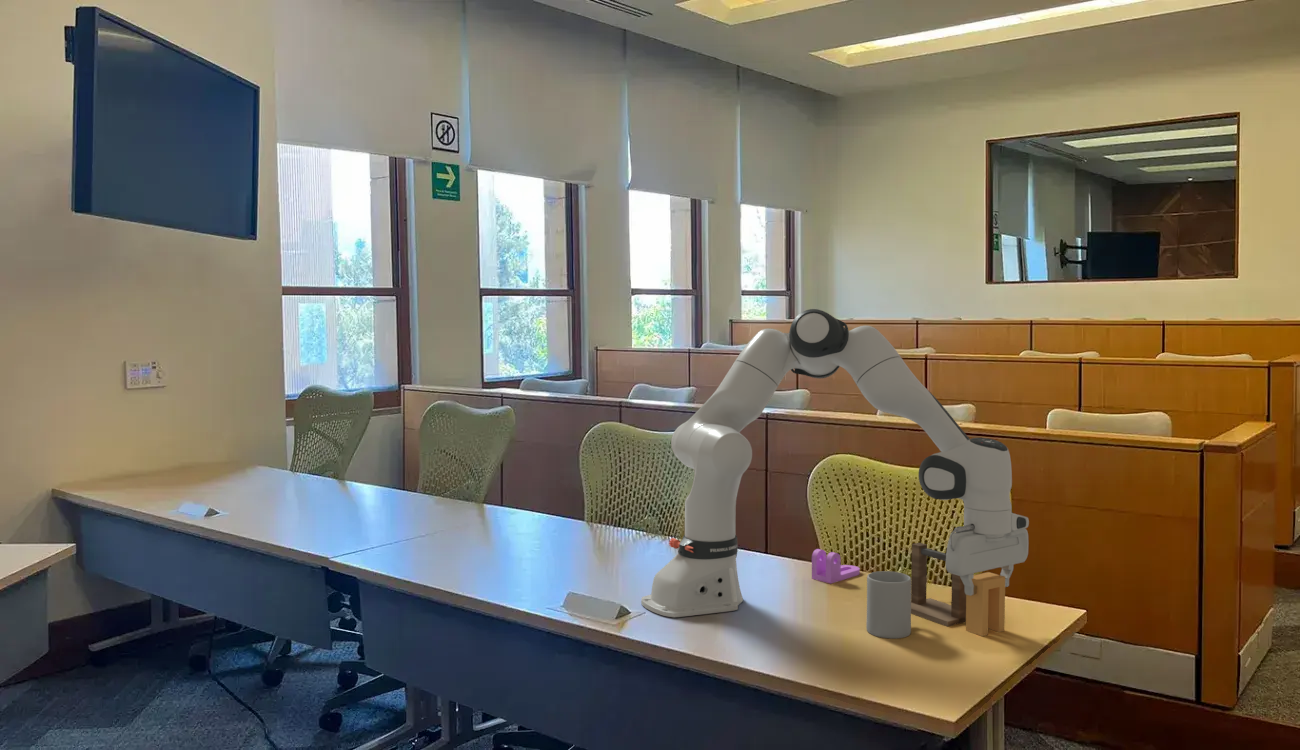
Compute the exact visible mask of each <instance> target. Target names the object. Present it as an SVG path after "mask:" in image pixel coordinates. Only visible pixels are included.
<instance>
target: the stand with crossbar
mask: <svg viewBox="0 0 1300 750" xmlns="http://www.w3.org/2000/svg"><path fill="white" fill-rule="evenodd" d="M946 553H947V552H942V551H938V550H934V549H931V548H928V544H926V543H922V542H916V543H915V542H914V543H912V544H911V576H910V578H911V615H913V616H914V615H915V616H916V617H920V618H922V619H925V620H928V621H932V622H933V623H937V624H939V625H942V626H945V627H951V626H956V625H960V624H963V623H966V594H965V585H964V584H963V582H962V580H961V578H960V576H958V575H954V574H951V601H950V603H951V604H949V603H946V602H943V601H939V600H937V599H934V598H932V597H931V598H930V597H929V598H927V584H928V583H927V581H928V580H927V578H928V577H927V576H928V575H927V573H928V571H927V570H928V569H927V568H928V566H927V565H928V564H927V563H928V562H927V561H928V557H930V558H933V559H937V560H940V561H945V562H946Z"/></svg>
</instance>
